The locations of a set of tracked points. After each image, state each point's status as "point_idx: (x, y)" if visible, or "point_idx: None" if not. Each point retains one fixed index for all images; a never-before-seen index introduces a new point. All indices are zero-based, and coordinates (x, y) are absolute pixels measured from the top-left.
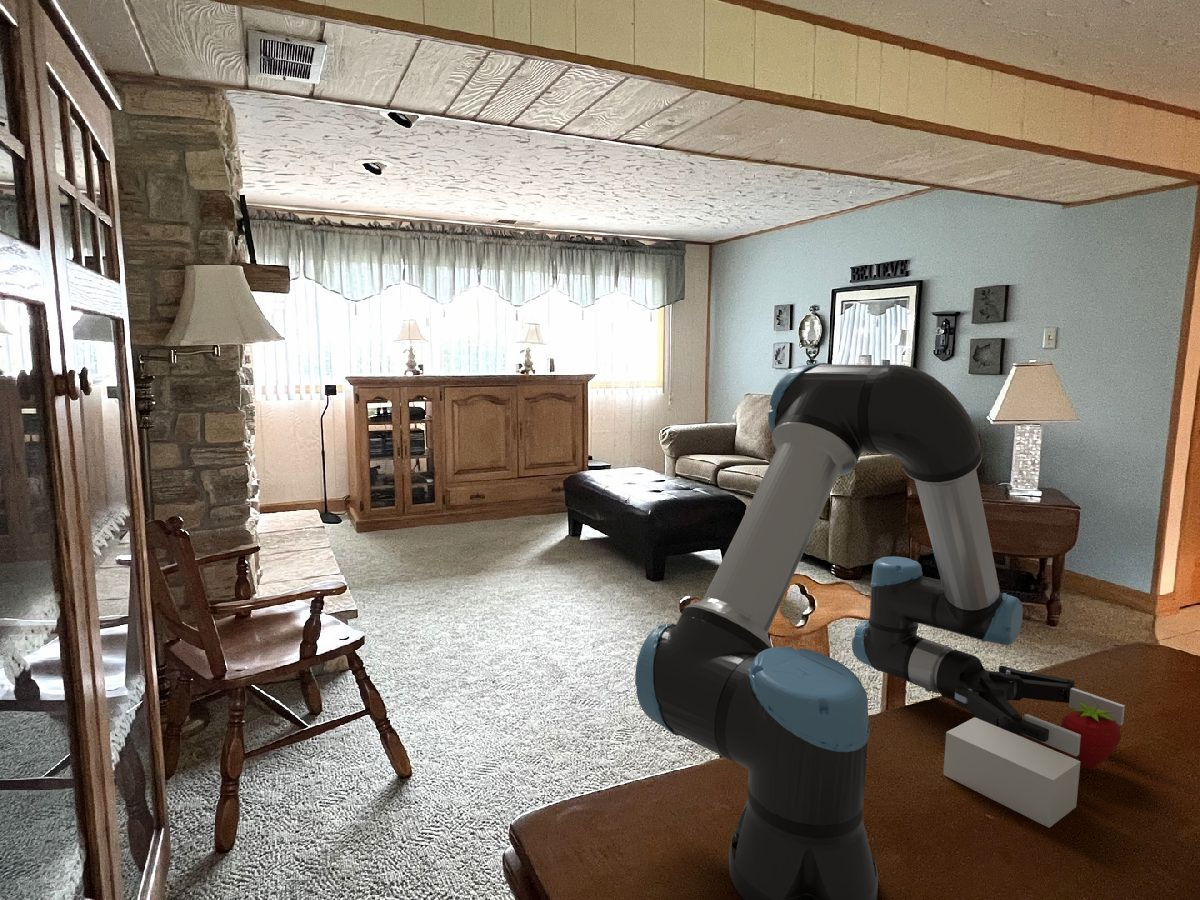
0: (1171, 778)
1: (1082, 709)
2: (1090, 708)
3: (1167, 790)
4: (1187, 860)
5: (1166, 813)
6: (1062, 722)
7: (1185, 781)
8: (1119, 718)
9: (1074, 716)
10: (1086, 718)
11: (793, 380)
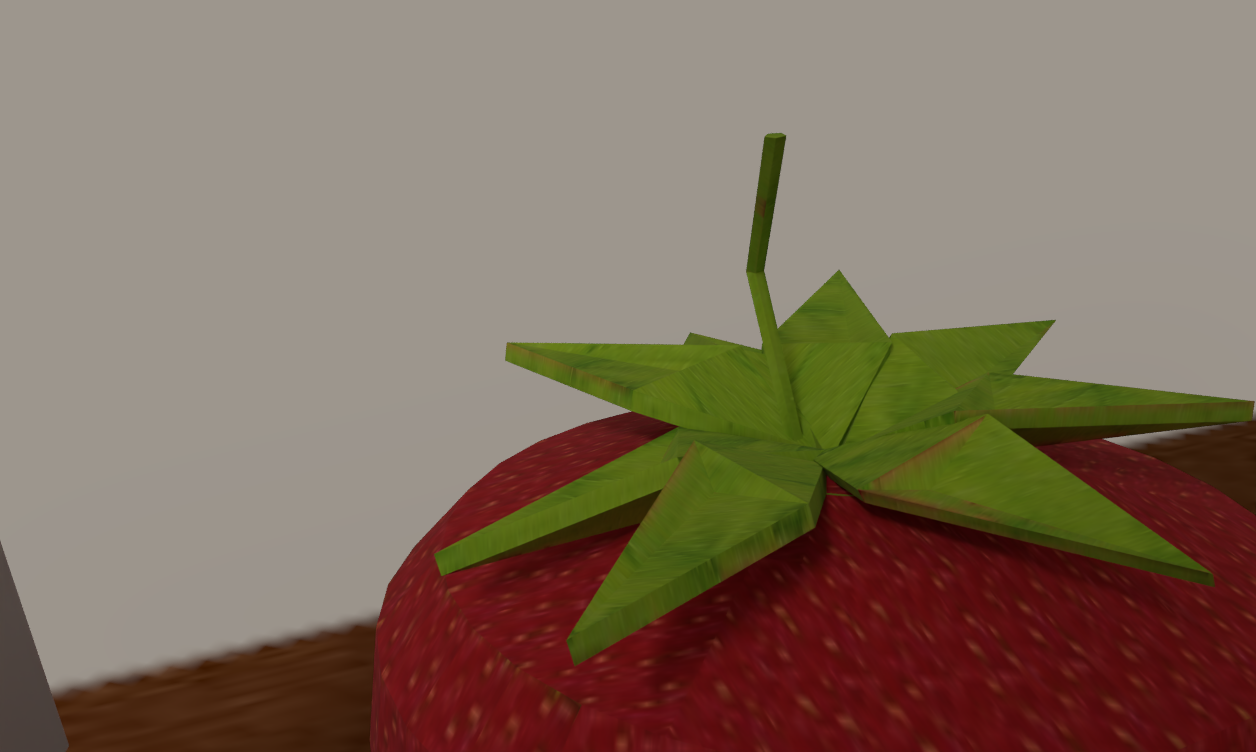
0: (317, 702)
1: (907, 492)
2: (727, 447)
3: None
4: (1245, 423)
5: None
6: None
7: (292, 653)
8: (22, 681)
9: (1155, 615)
10: (1060, 461)
11: None
